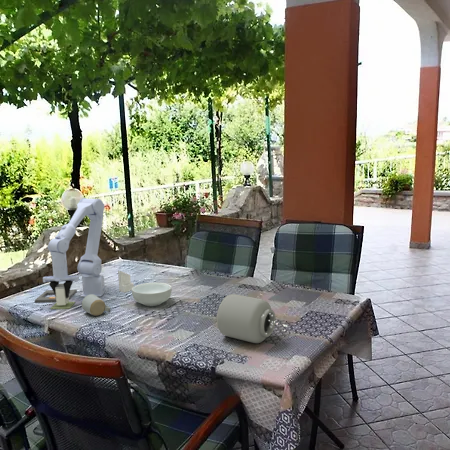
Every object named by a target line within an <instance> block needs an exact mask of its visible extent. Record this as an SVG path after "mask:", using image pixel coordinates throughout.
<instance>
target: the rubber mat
mask: <svg viewBox="0 0 450 450" xmlns="http://www.w3.org/2000/svg"><path fill="white" fill-rule="evenodd" d="M75 304H76V301H69V302H68V303H67V304H66V305H57V302H54V304H53V305H52V306H51V307H50V308H49V309H50V310H71V308H72V307H73V306H74V305H75Z"/></svg>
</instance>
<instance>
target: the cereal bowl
mask: <svg viewBox="0 0 450 450" xmlns="http://www.w3.org/2000/svg"><path fill="white" fill-rule="evenodd" d="M172 290H173V289H172V286H171V285H170V284H169V283H166V282H146V283H145V282H144V283H141V284H137V285H134V287H133V288H132V290H131V295H132V298H133V299H134V301H135V302H137V303H139V304H142V305H144V306H146V307H157V306H159V305H161V304H162V303H165V302H167V300H169V299H170V297H171V295H172Z"/></svg>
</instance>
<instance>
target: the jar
mask: <svg viewBox="0 0 450 450" xmlns="http://www.w3.org/2000/svg"><path fill="white" fill-rule="evenodd" d="M276 325H278V322H277V323H276V313H275V311H274V310H273V309H272V307H271V304H270V303H269V302H268V301H267V300H265V299H263V298H256V297H252V296H247V295H240V294H235V293H231V294H228V295H226V296H225V297H224V298H223V299H222V301H221V302H220V304H219V305H218V309H217V313H216V326H217V329H218V331H219V332H220V334H221V335H223V336H224V337H228V338H232V339H236V340H241V341H245V342H249V343H252V344H259V343H262V342H263V341H265V339H266V338H268V337H270V336H271V335H272V334H273V332H274V330H275V326H276ZM282 325H283V327H288V325H286V324H284V323H283V324H282ZM283 331H284V332H285V331H286V329H284V330H283Z"/></svg>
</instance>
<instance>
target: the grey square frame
mask: <svg viewBox="0 0 450 450" xmlns="http://www.w3.org/2000/svg"><path fill="white" fill-rule="evenodd" d="M77 292H78V291H77V289H70V292H69V300H70V299H72V298H73V297H74V295H75V294H77ZM34 303H35V304H38V303H41V304H43V303H46V304H47V303H56V296H55V294H54V291H53V290H52V289H51V290H49V289H48V290H47V289H46V290H45V291H44V292H42V294H39V296H38V297H36V298H35V299H34Z"/></svg>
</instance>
